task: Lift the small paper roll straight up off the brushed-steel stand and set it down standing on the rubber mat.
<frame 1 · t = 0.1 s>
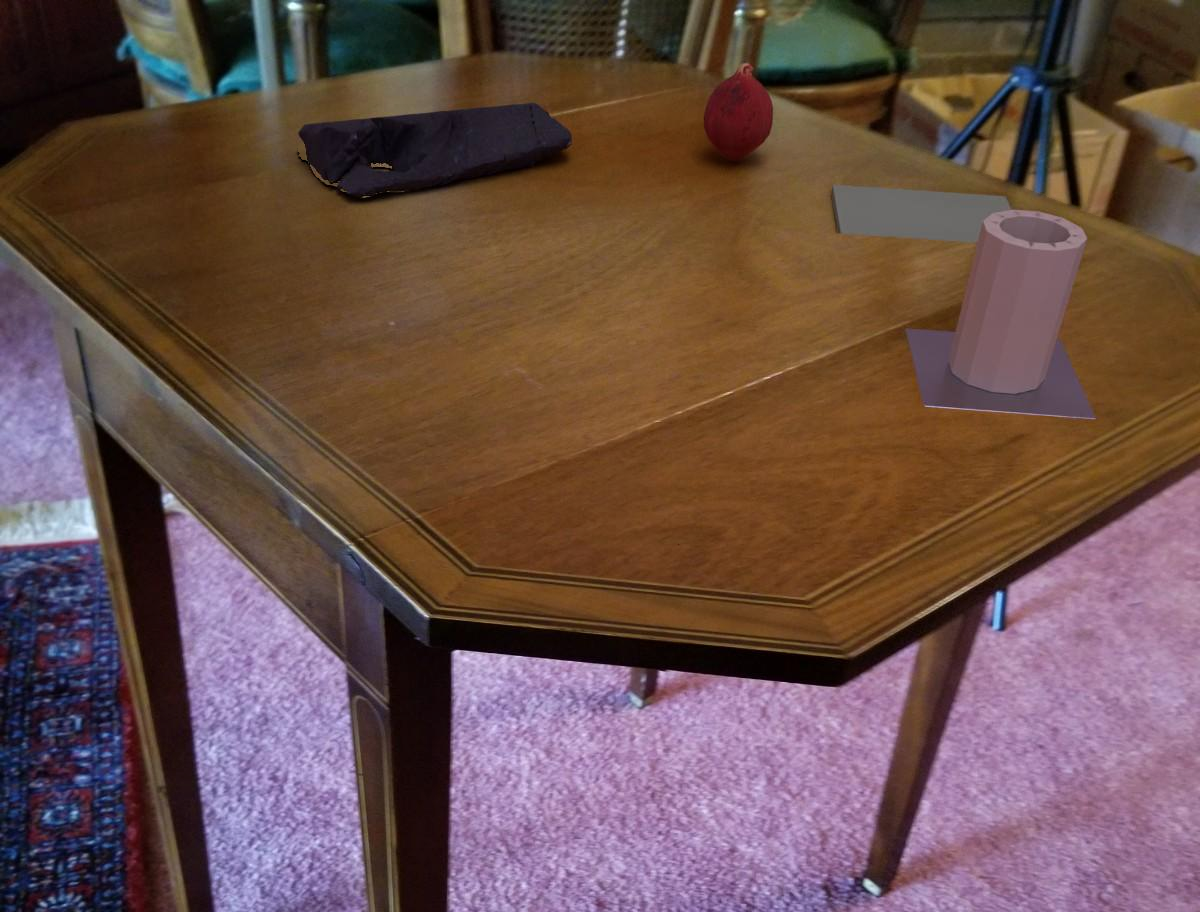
mat: (930, 244, 92), on the table
roll stand: (991, 388, 75), on the table
paper roll: (995, 370, 74), point 1 cm above the table, touching roll stand
black folded cloth: (438, 160, 102), on the table
onion: (733, 164, 104), on the table
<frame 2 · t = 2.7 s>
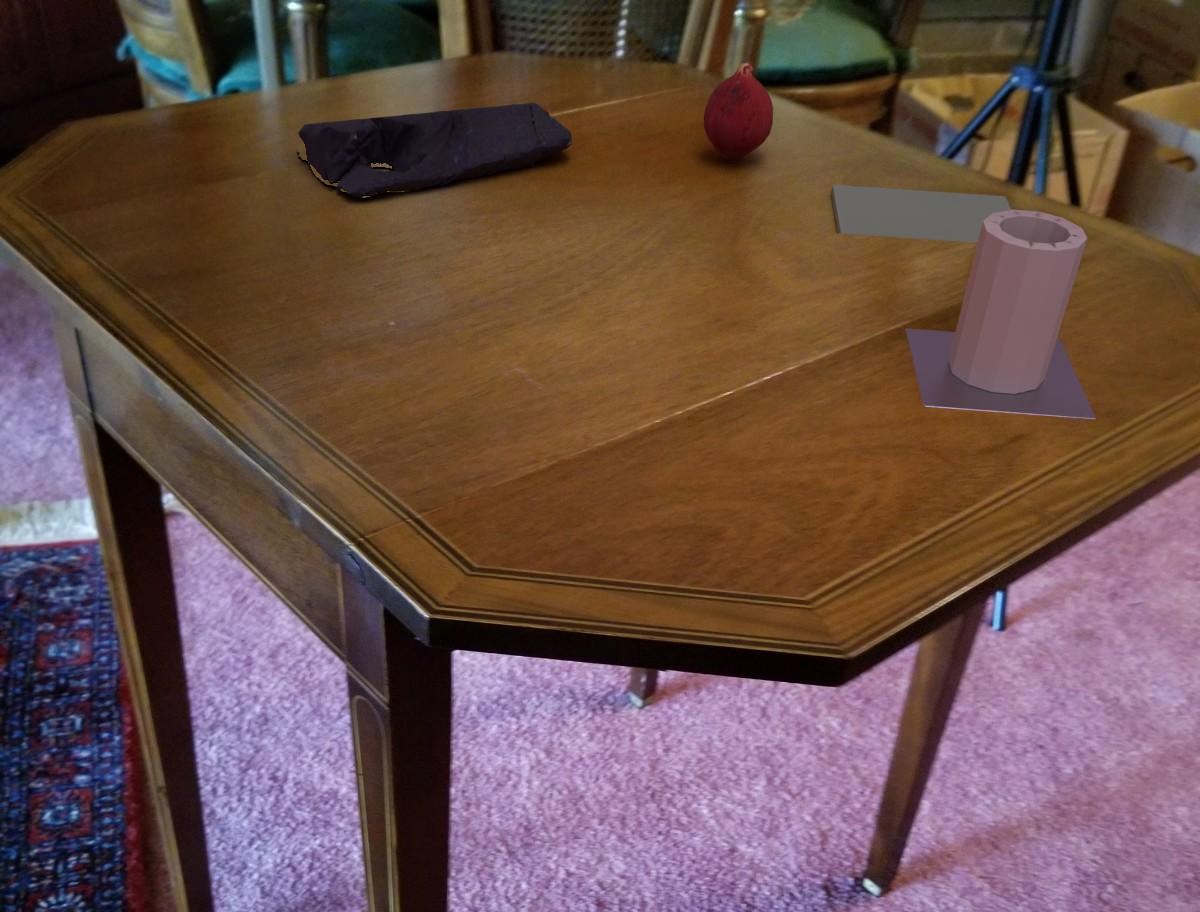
nothing on the table moved.
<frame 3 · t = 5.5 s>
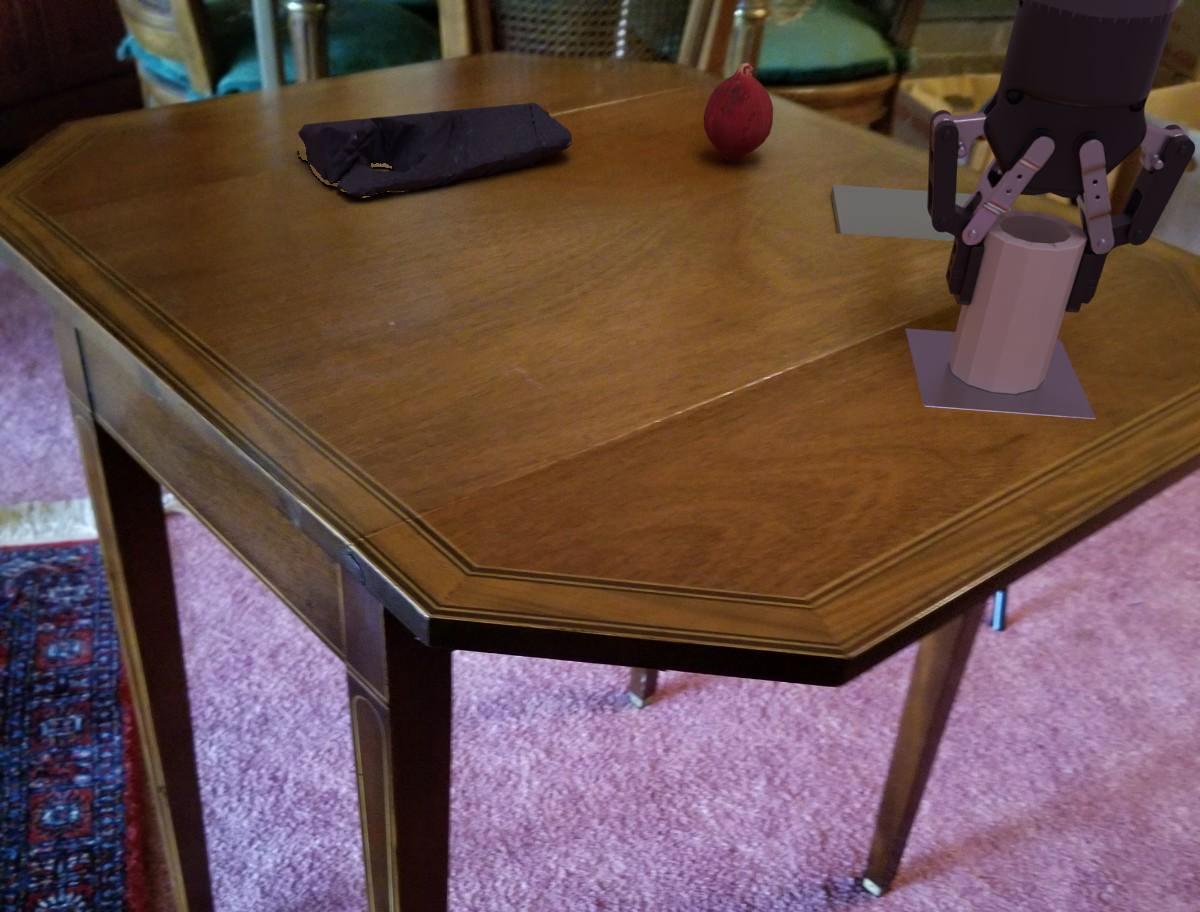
hand: (1014, 302, 71), 6 cm above the table, tool pointing down, fingers closed on paper roll, 5 cm apart
paper roll: (995, 370, 74), point 1 cm above the table, touching gripper, roll stand
everything else where it was.
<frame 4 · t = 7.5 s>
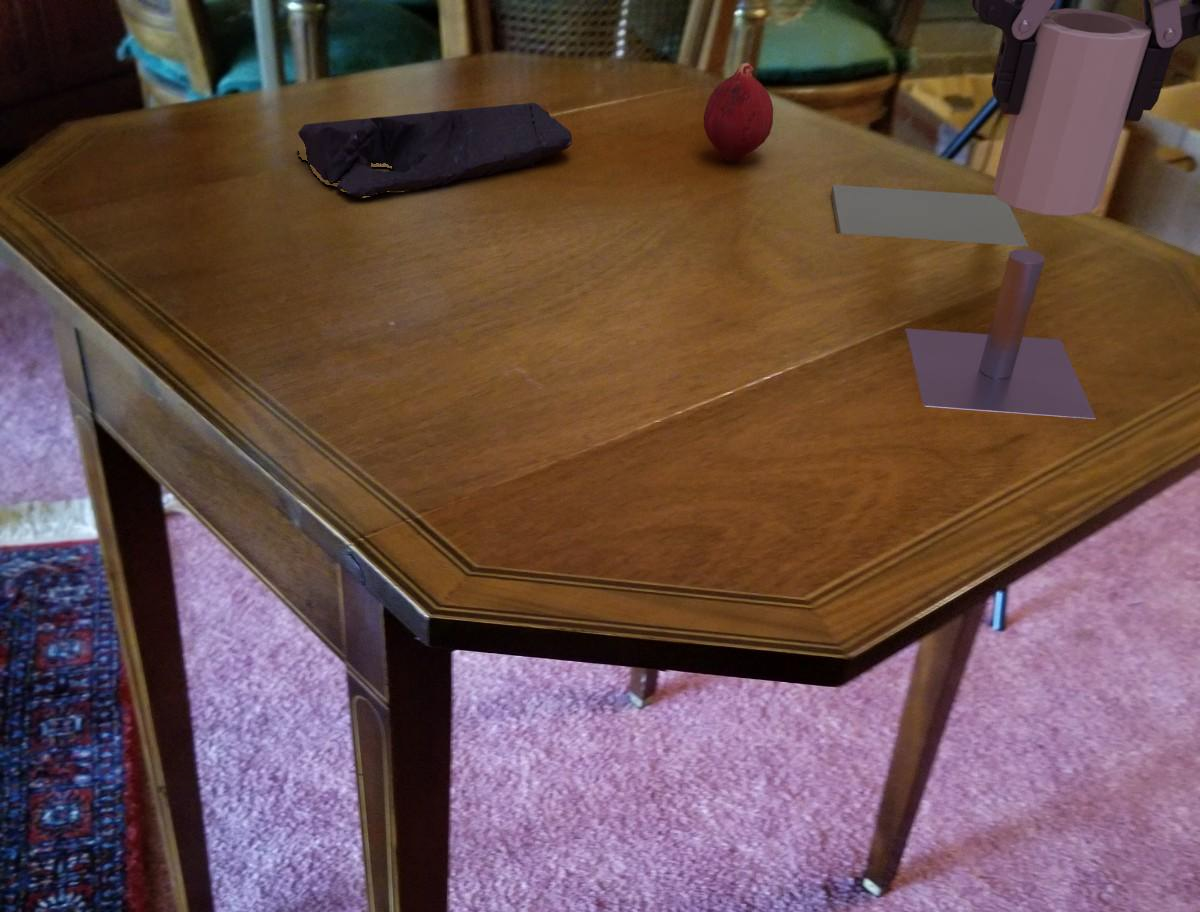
hand: (1067, 112, 64), 17 cm above the table, tool pointing down, fingers closed on paper roll, 5 cm apart
paper roll: (1045, 196, 67), point 12 cm above the table, touching gripper
everything else where it was.
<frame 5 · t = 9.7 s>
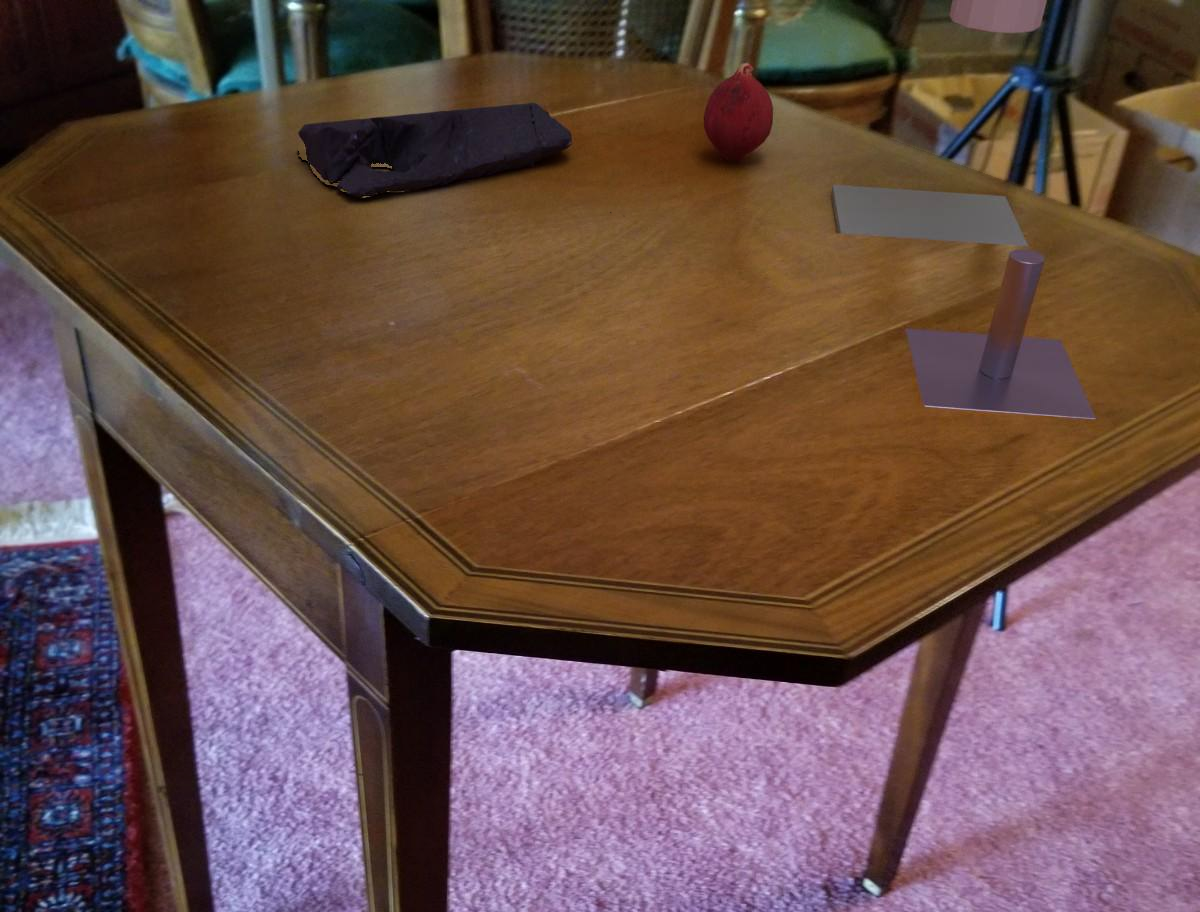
paper roll: (994, 21, 78), point 17 cm above the table, touching gripper
everything else where it was.
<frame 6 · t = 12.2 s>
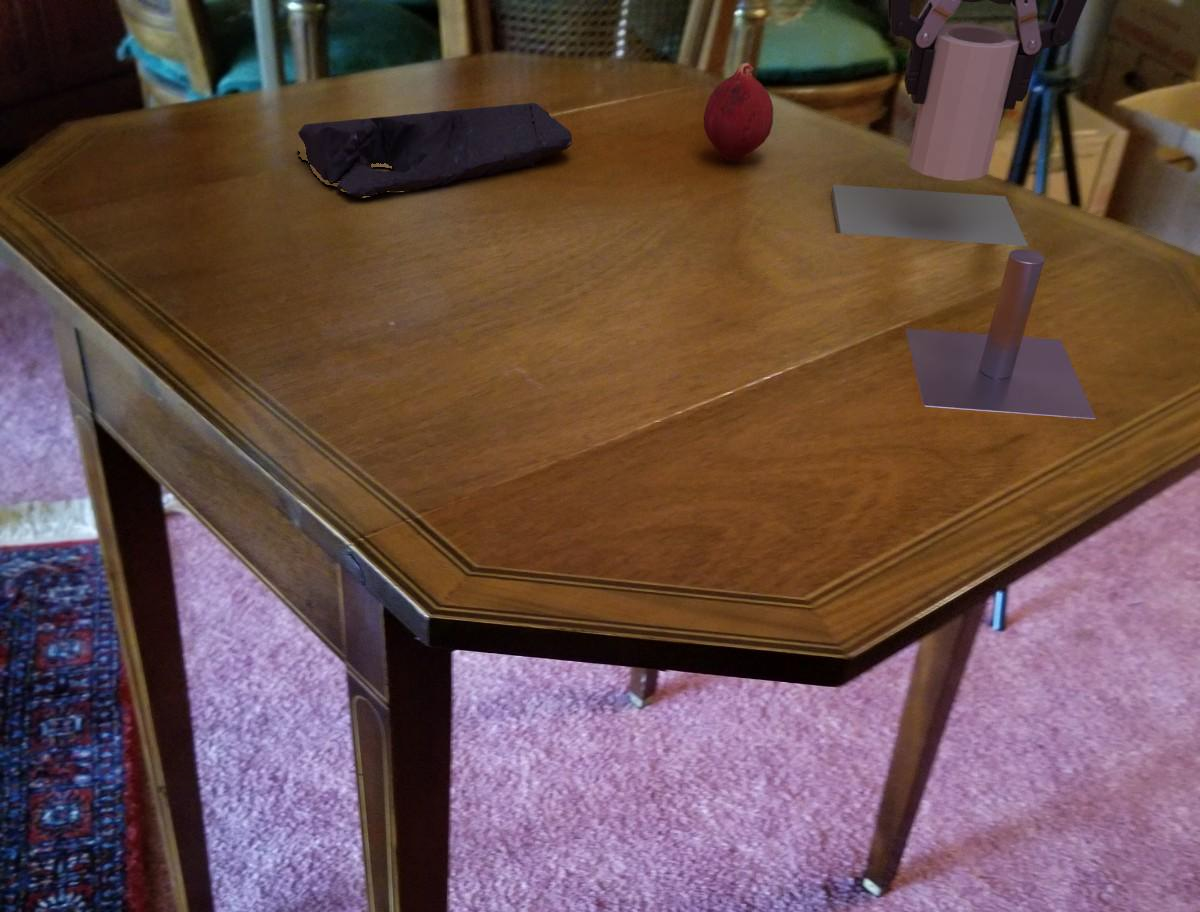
hand: (961, 102, 85), 10 cm above the table, tool pointing down, fingers closed on paper roll, 5 cm apart
paper roll: (947, 166, 88), point 6 cm above the table, touching gripper
everything else where it was.
when the fingers open (5 cm above the table, at t = 14.0 s): paper roll stays where it is, resting on mat.
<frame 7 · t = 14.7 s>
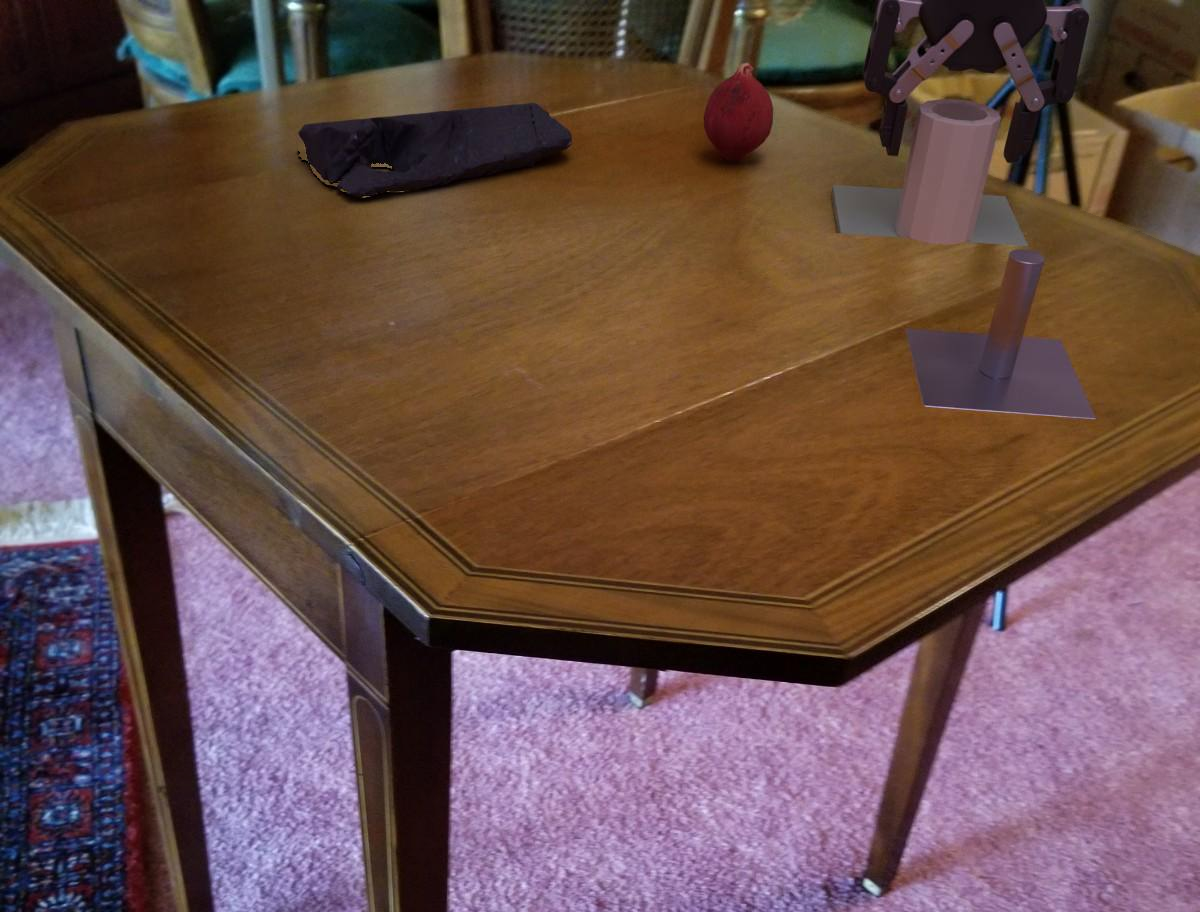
hand: (950, 156, 87), 7 cm above the table, tool pointing down, fingers open, 8 cm apart
paper roll: (932, 233, 91), point 1 cm above the table, touching mat
everything else where it was.
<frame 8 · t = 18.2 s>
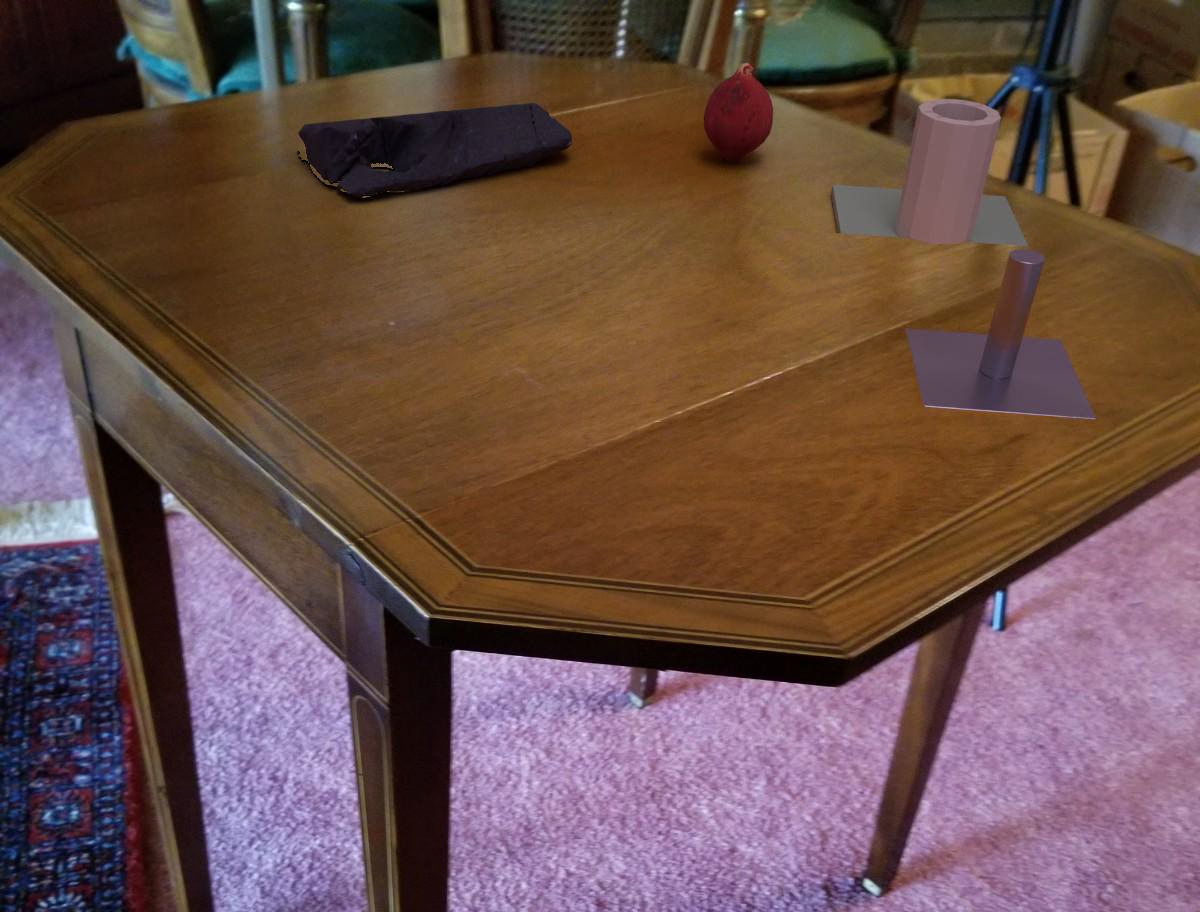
nothing on the table moved.
at the end: paper roll inside the target area on the mat (0.0 cm from its centre), point 0.8 cm above the mat's base; paper roll tilted 0°; the gripper is holding nothing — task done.
